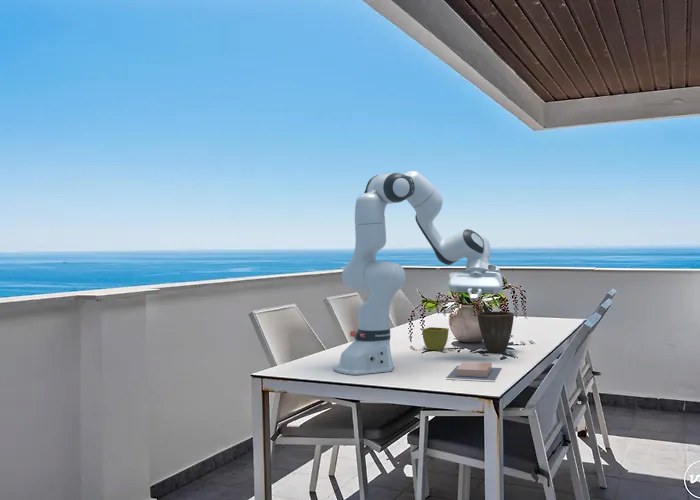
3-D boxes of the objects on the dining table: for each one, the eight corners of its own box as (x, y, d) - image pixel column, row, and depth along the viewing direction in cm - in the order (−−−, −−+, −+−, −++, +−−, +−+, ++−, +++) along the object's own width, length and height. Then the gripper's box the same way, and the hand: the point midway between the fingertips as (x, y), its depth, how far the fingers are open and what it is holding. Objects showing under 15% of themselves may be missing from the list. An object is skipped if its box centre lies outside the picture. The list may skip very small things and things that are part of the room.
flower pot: (449, 349, 278) (449, 328, 278) (441, 352, 270) (441, 330, 270) (430, 347, 282) (430, 327, 282) (422, 350, 275) (421, 329, 274)
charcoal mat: (495, 382, 210) (495, 380, 210) (445, 379, 215) (445, 377, 215) (502, 369, 231) (502, 367, 231) (457, 367, 236) (457, 365, 236)
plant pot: (497, 356, 258) (497, 316, 258) (470, 351, 270) (469, 313, 270) (522, 352, 267) (521, 313, 267) (494, 347, 279) (493, 310, 279)
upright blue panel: (491, 370, 227) (486, 378, 214) (463, 368, 230) (456, 376, 217) (491, 363, 227) (486, 370, 214) (463, 361, 230) (456, 369, 217)
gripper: (449, 265, 252) (445, 293, 243) (503, 266, 246) (501, 295, 237) (450, 276, 256) (446, 303, 247) (503, 277, 250) (501, 306, 241)
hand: (473, 299), depth 242 cm, fingers closed
